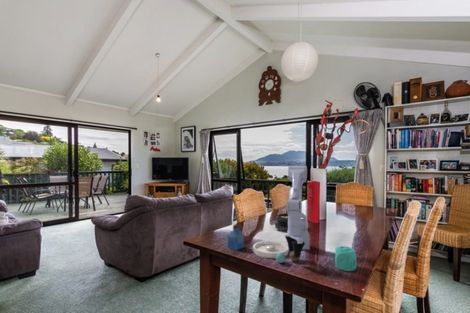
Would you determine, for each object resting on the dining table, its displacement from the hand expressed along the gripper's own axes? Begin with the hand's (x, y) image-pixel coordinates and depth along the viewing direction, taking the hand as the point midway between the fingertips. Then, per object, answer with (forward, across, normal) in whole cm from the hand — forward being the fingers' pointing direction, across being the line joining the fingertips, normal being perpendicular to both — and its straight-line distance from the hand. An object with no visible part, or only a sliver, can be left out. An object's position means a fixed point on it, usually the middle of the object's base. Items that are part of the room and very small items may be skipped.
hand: (294, 254), depth 115 cm
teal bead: (+3, +1, -7) cm, 8 cm away
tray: (+3, -13, -8) cm, 16 cm away
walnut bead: (+3, 0, 0) cm, 3 cm away
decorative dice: (+3, +9, +20) cm, 22 cm away
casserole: (+3, -55, +16) cm, 57 cm away
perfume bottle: (+3, -21, -25) cm, 33 cm away
